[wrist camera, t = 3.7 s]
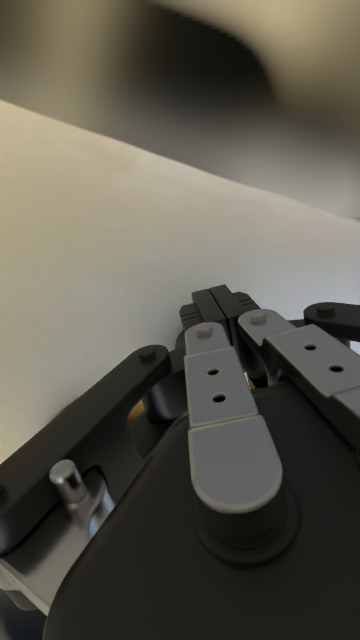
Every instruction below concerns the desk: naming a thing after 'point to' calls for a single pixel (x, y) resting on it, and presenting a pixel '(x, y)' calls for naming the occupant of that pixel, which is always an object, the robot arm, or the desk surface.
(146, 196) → the desk surface
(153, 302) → the desk surface
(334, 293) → the desk surface
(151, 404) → the robot arm
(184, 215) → the desk surface
